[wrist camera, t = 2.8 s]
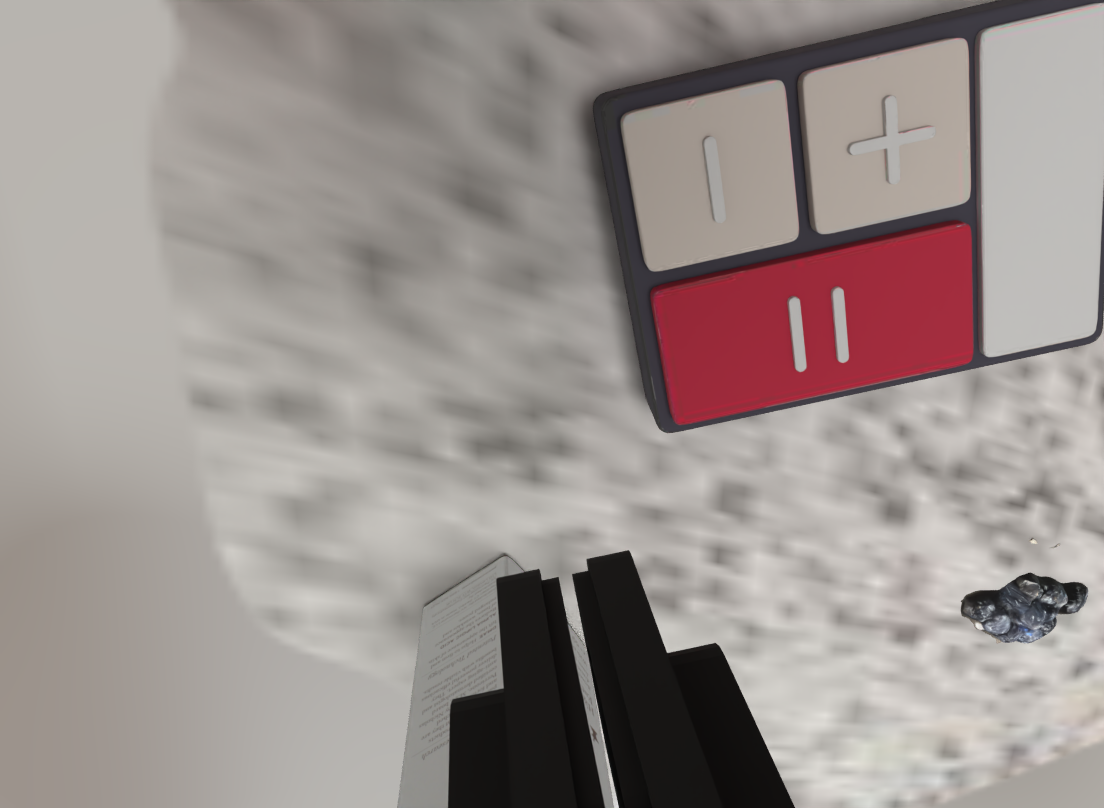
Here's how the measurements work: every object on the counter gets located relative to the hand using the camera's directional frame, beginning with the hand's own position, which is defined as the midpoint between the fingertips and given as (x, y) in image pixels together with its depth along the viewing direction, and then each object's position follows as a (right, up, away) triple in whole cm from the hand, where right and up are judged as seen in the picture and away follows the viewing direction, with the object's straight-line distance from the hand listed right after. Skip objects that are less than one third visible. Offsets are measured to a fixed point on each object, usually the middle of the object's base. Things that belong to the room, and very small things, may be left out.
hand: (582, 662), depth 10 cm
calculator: (+9, +10, +19) cm, 23 cm away
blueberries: (+20, -5, +26) cm, 33 cm away
